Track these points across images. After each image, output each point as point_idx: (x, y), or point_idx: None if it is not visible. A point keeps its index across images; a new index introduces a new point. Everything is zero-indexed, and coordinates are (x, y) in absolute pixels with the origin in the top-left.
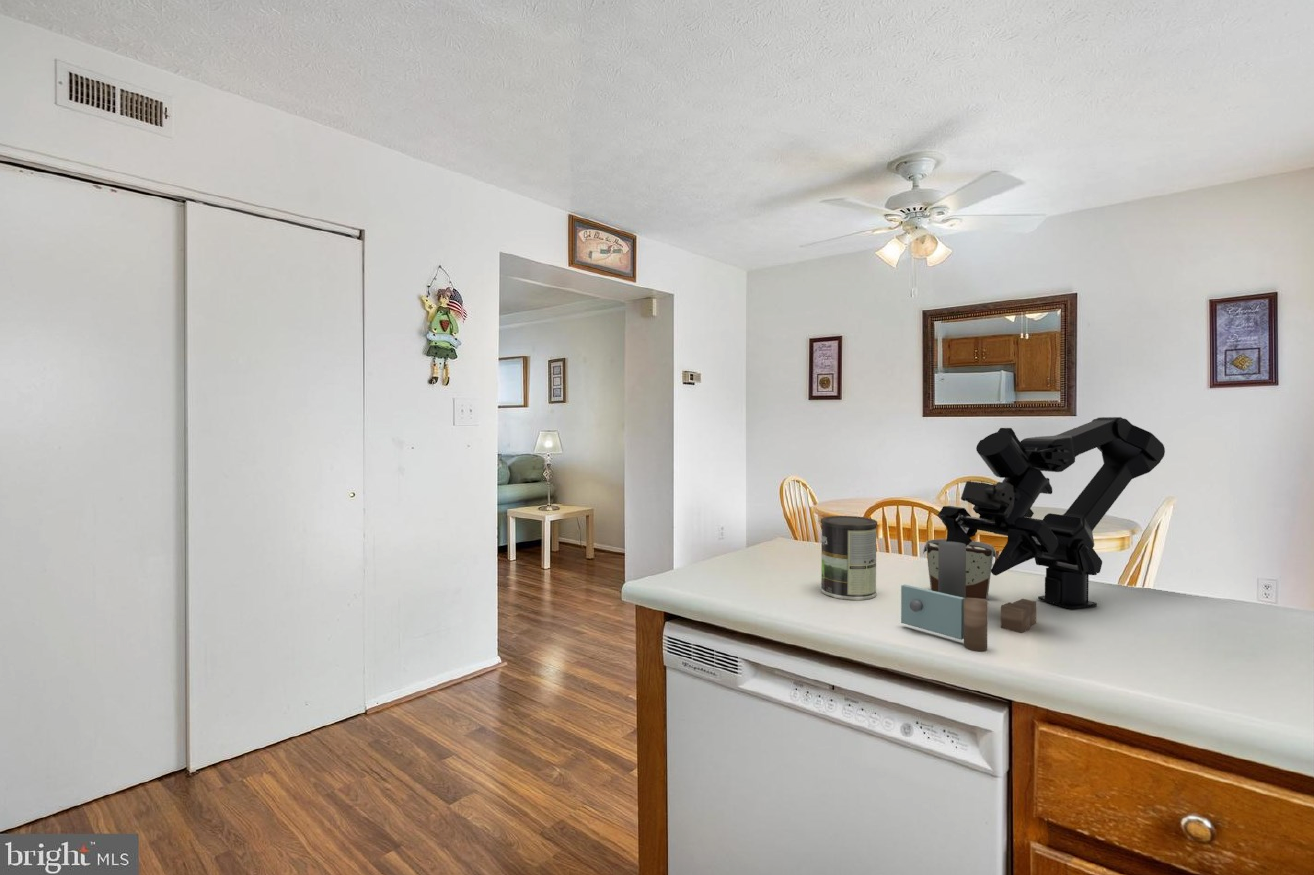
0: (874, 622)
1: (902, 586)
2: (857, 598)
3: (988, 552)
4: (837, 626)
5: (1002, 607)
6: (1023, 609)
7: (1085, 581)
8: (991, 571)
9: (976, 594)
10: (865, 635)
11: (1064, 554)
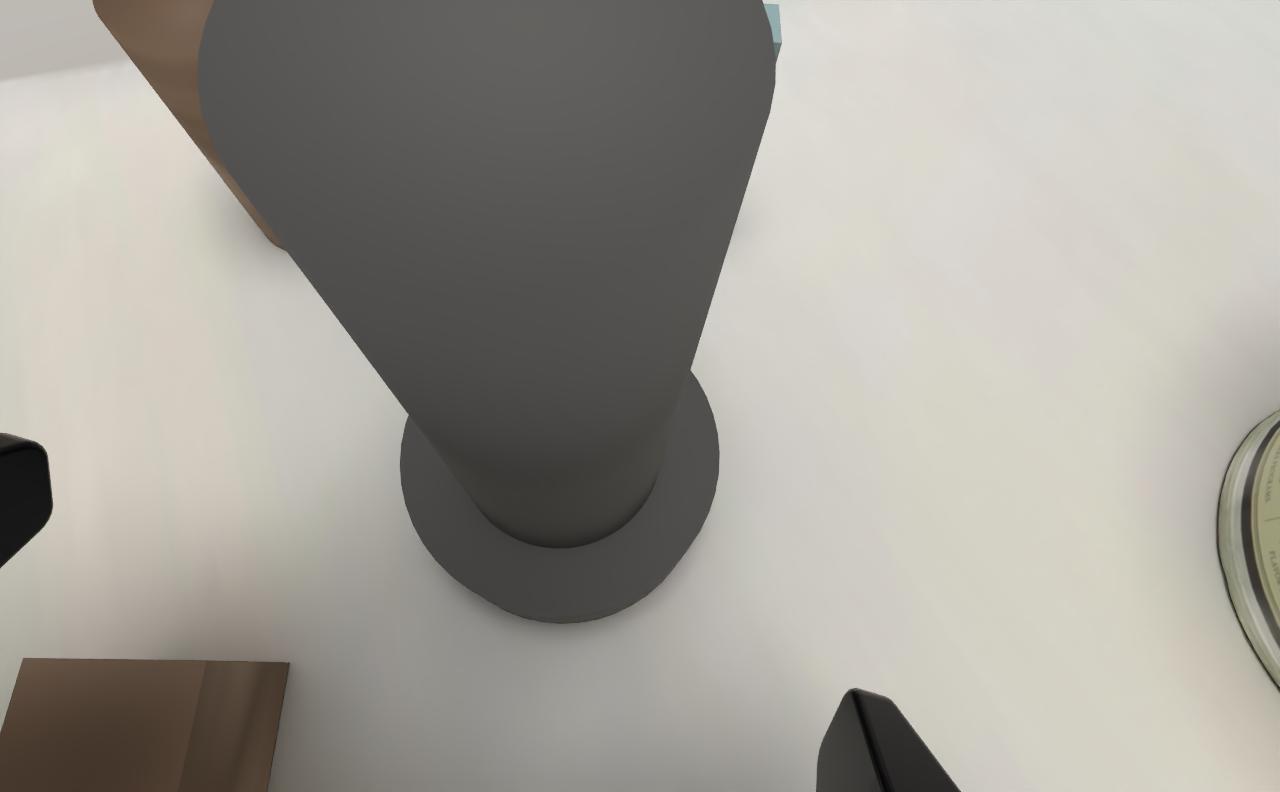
0: (855, 182)
1: (767, 10)
2: (1239, 462)
3: None
4: (912, 26)
5: (201, 662)
6: (10, 705)
7: None
8: (34, 446)
9: None
10: None
11: None
